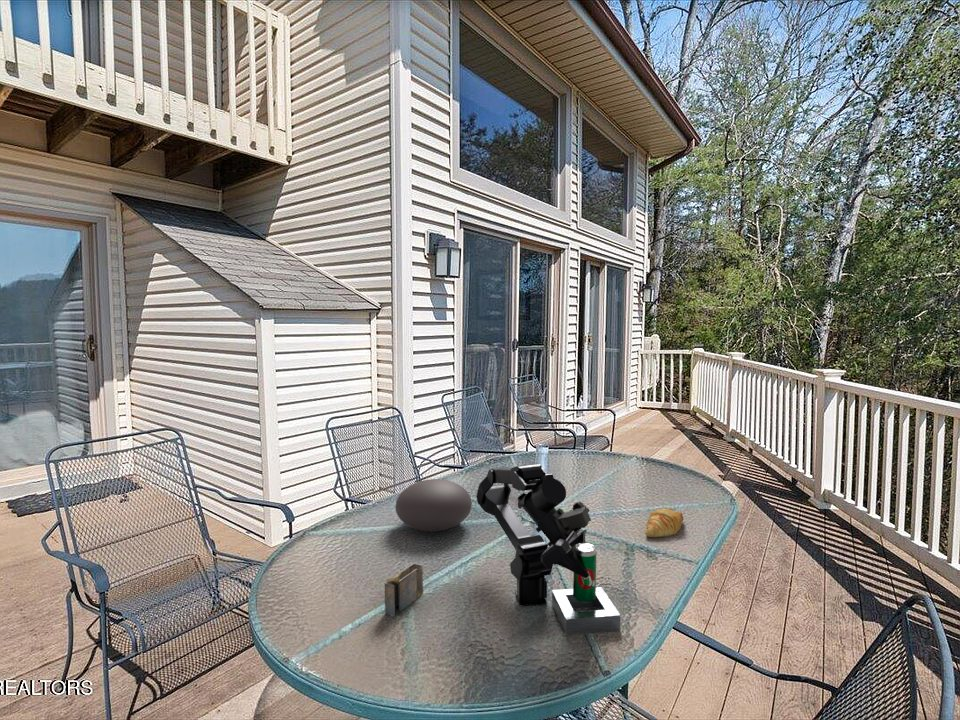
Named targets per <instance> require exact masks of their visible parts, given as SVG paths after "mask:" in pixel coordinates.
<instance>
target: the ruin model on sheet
mask: <svg viewBox="0 0 960 720" xmlns="http://www.w3.org/2000/svg"><path fill="white" fill-rule="evenodd" d="M423 568H424V567H423V564H420V563H416V562H412V564H411V565H409V566H407V567H406V568H405V569H403V570H401V571H400V572H399V573H397V574H396V575H394V576H393V577H391V578H387V579H385V582H384V613H385V615H388V616H391V617H395V616H396V608H397V606H398V612H400V613H401V612H402V610H404V609H405V608H406V607H407V606H409V605H410V604H412V603H413V602H414V601H416V600H417V599H419V598H420V597H421V596H422V595H424V578H423V577H424V572H423V571H424V569H423ZM395 607H396V608H395Z"/></svg>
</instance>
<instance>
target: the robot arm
mask: <svg viewBox="0 0 960 720" xmlns="http://www.w3.org/2000/svg"><path fill="white" fill-rule="evenodd" d="M494 484H498V485H494ZM510 485H511V487H512V488H513V489H514V490H517V491H520V492H521V491H522V492H523V493H521V494H520V495H519V496H518V497H517V508H518V509H523V510H524V511H525V512H526V514H527V515H528V516H529V517H530V518H531V519H532V521H533V522H534V523H535V525H536V526H537V527H536V528H535V531H536V532H537V533H540V532H542V533H543V535H544V536H545V537H546V538H547V539H548V542H546V541H545V540H544V539H543V536H541V535H540V534H536V535H531V534H530V532H529V531H528V530H527V528H526V527H525V526H524V524H523V523H522V521H521V519H520V518H519V517H518V516H517V514H516V512H515V511H514V509H512V507H511V506H510V503H509V499H510V495H511V491H512V488H511V487H510ZM524 491H529V492H527V493H524ZM566 498H567V489H566V486H564V484H563V483H562V482H561V480H558V479H556V478H554V475H553V473H548V472H547V471H546V470H545V469H544V468H543V467H542V465H541V464H540V463H531V464H524V465H516V466H513V467H505V466H501V467H500V466H499V467H493V468H490V469H489V470H488V471H487V475H486V477H484V478H483V480H482V481H481V482H480V483H479V484H478V488H477V492H476V501H477V504H478V505H479V506H480V508H481V509H482V510H483V511H484V513H487V514H489V515H492V516H494V517H495V519H496V520H497V522H498V524H499V527H501V529H502V531H503V532H504V534H505V535H506V537H507V538H508V540H509V542H510V543H511V544H512V546H513V548H514V550H515V555H514V558H513V560H512V561H511V562H510V563H509V566H510V567H509V568H510V573H511V575H513V576H514V578H515V579H516V590H515V591H514V592H515V593H514V594H515V596H516V600H517V602H518V605H519V606H520V607H528V606H530V607H531V606H541V605H542V606H544V605H547V598H548V580H547V579H546V576H550V575H551V574H552V571H553V566H559V567H562V568H564V569H567V570H568V571H571V572H572V573H573V572H574V573H576V574H578V575H580V576H582V577H584V578H587V577H588V576H589V573H588V572H587V570H586V568H585V567H584V565H583V564H582V562H581V561H580V560H579V558H578V557H577V555H576V545H577V544H579V543H587V542H586V533H587V529H586V527H587V526H588V525H589V523H590V522H592V519H591V515H590V514H589V512H590V508H589V507H587V505H585V504H584V503H583V502H582V501H576V502H575V503H574V504H573V505H572V509H570V510H569V511H566V512H565V511H564V510H563V509H562V508H560V507H559V508H557V509H556V507H557V506H559V505H560V504H561V503H563V502H564V501H565V499H566ZM584 528H585V529H584ZM581 529H584V530H582V531H581Z"/></svg>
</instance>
